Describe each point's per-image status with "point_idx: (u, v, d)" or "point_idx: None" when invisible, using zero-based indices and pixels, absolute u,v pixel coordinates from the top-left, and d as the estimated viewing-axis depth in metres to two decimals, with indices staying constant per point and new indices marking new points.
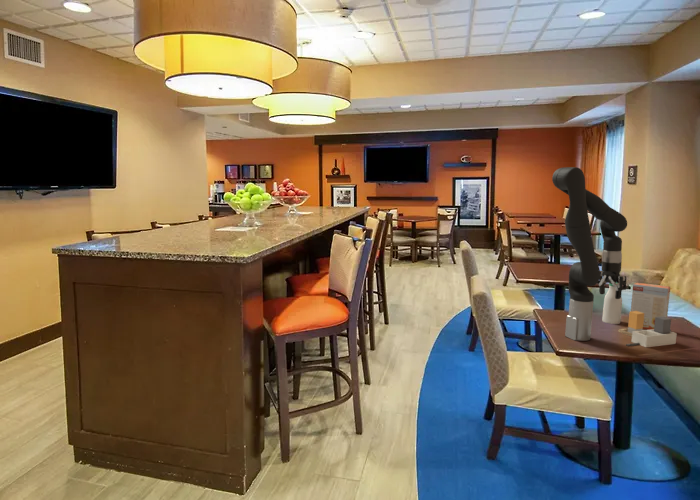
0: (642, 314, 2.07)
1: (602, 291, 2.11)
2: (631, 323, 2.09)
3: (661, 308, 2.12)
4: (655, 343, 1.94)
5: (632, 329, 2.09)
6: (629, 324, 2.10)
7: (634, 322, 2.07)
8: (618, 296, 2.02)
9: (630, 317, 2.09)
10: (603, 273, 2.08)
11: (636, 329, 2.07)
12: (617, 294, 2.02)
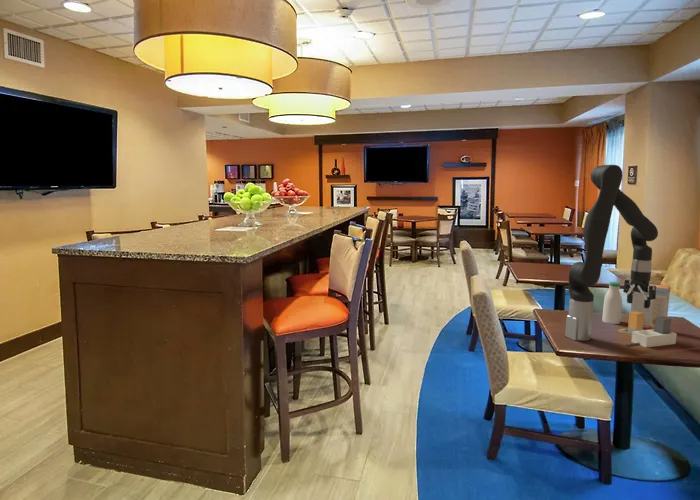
0: (642, 314, 2.07)
1: (630, 300, 2.11)
2: (631, 323, 2.09)
3: (661, 308, 2.12)
4: (655, 343, 1.94)
5: (632, 329, 2.09)
6: (629, 324, 2.10)
7: (634, 322, 2.07)
8: (647, 305, 2.02)
9: (630, 317, 2.09)
10: (632, 282, 2.09)
11: (636, 329, 2.07)
12: (646, 303, 2.03)
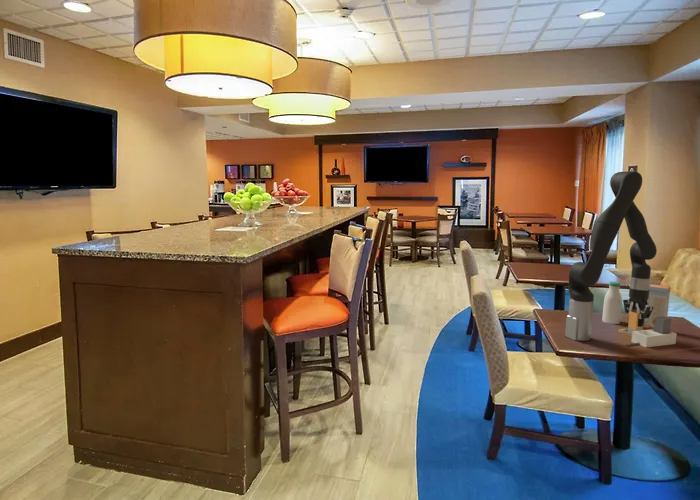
0: None
1: None
2: (631, 323, 2.09)
3: (661, 308, 2.12)
4: (655, 343, 1.94)
5: (632, 329, 2.09)
6: (629, 324, 2.10)
7: (634, 322, 2.07)
8: (641, 324, 2.06)
9: (630, 317, 2.09)
10: (630, 299, 2.10)
11: (636, 329, 2.07)
12: (640, 322, 2.06)
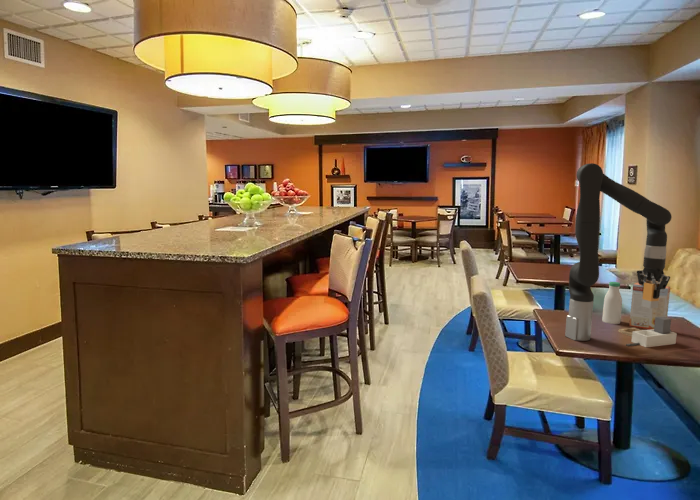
0: None
1: None
2: (646, 295, 1.94)
3: (661, 308, 2.12)
4: (655, 343, 1.94)
5: (646, 302, 1.94)
6: (643, 296, 1.95)
7: (649, 293, 1.93)
8: (656, 296, 1.91)
9: (644, 288, 1.95)
10: (644, 270, 1.96)
11: (651, 301, 1.93)
12: (655, 293, 1.92)
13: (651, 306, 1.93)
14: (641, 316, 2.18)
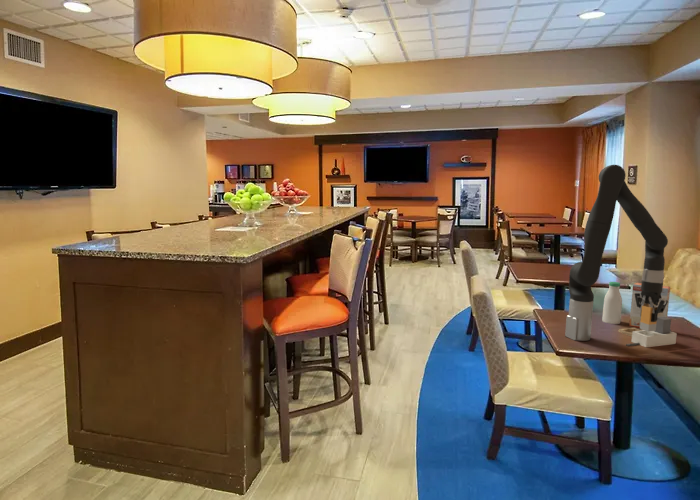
0: None
1: None
2: (644, 318, 1.96)
3: None
4: (655, 343, 1.94)
5: (644, 325, 1.96)
6: (641, 319, 1.97)
7: (647, 316, 1.94)
8: (654, 319, 1.93)
9: (642, 311, 1.96)
10: (642, 293, 1.97)
11: (649, 324, 1.94)
12: (653, 317, 1.93)
13: (649, 329, 1.94)
14: None
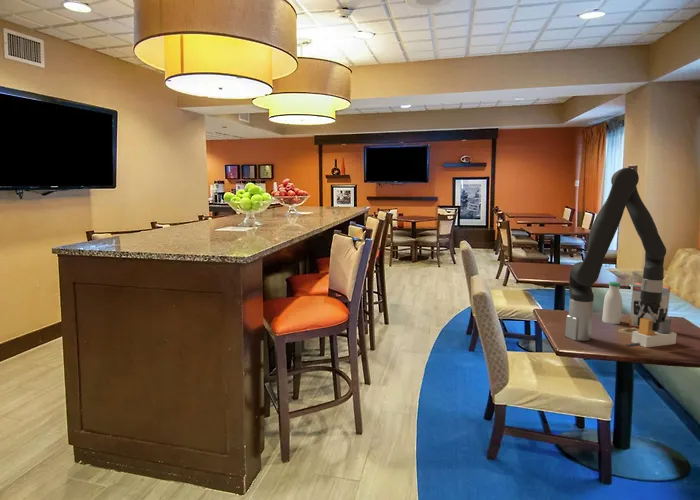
0: None
1: None
2: (642, 330, 1.97)
3: None
4: (655, 343, 1.94)
5: None
6: (640, 332, 1.98)
7: (645, 329, 1.95)
8: (655, 328, 1.92)
9: (640, 324, 1.97)
10: (641, 302, 1.98)
11: None
12: (654, 326, 1.92)
13: None
14: None
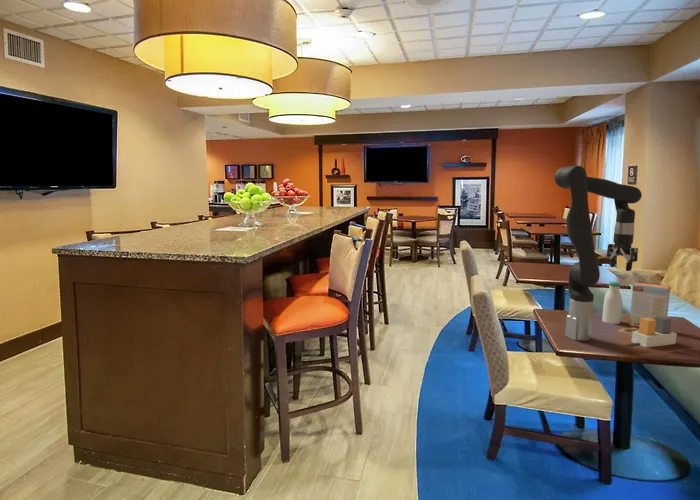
0: (654, 321, 1.95)
1: (613, 264, 2.12)
2: (642, 331, 1.97)
3: (661, 308, 2.12)
4: (655, 343, 1.94)
5: None
6: (640, 332, 1.98)
7: (645, 329, 1.95)
8: (629, 268, 2.03)
9: (640, 324, 1.97)
10: (614, 246, 2.09)
11: None
12: (628, 266, 2.03)
13: None
14: (641, 316, 2.18)
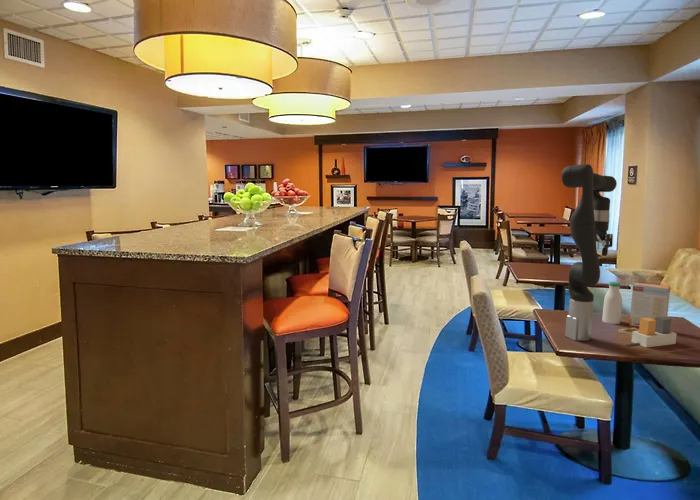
0: (654, 321, 1.95)
1: None
2: (642, 331, 1.97)
3: (661, 308, 2.12)
4: (655, 343, 1.94)
5: None
6: (640, 332, 1.98)
7: (645, 329, 1.95)
8: (604, 253, 2.14)
9: (640, 324, 1.97)
10: None
11: None
12: (604, 251, 2.15)
13: None
14: (641, 316, 2.18)
